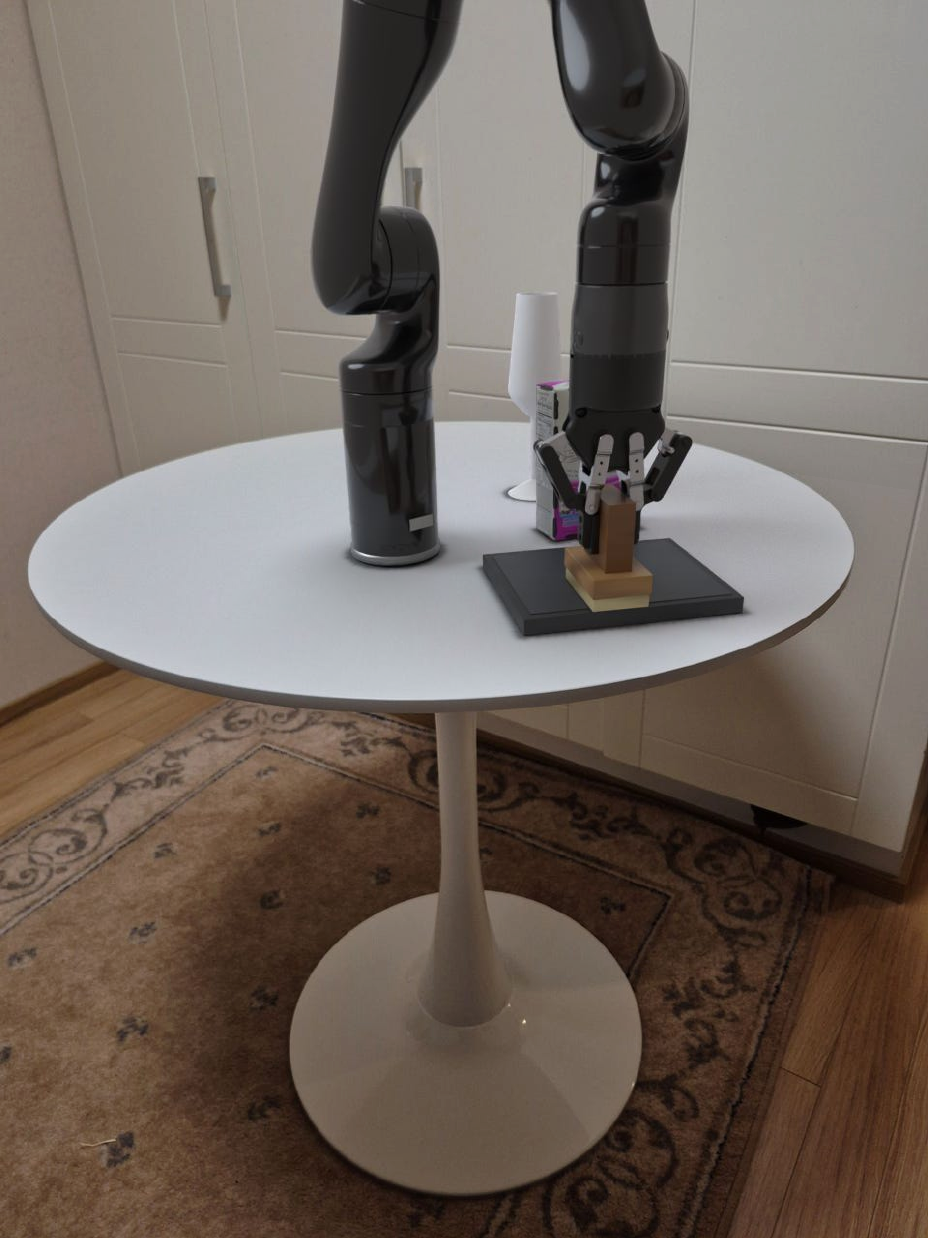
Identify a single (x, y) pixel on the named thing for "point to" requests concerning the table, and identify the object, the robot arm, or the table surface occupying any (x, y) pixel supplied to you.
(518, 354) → the champagne flute
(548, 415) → the candy bar box
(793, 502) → the table surface
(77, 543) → the table surface
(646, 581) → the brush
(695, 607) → the panel
